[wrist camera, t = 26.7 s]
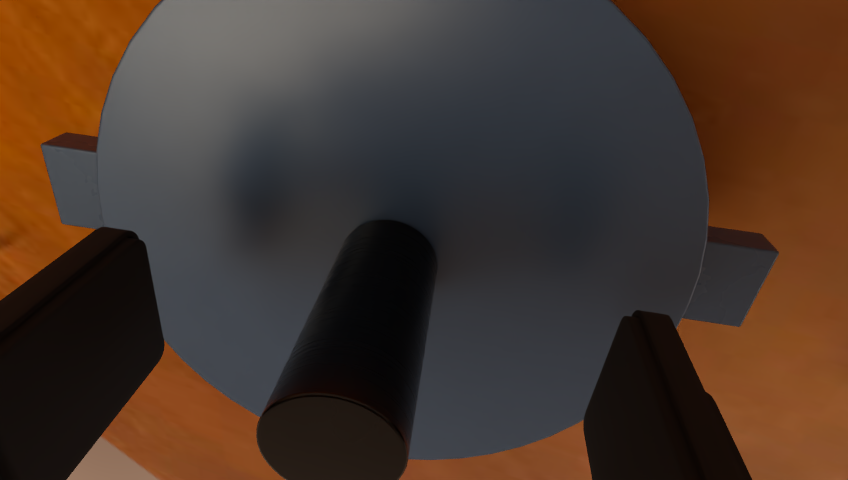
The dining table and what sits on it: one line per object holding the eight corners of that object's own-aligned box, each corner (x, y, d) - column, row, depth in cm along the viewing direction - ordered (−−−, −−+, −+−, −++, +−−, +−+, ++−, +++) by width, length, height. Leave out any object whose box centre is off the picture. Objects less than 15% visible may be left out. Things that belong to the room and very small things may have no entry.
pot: (133, -98, 16) (-62, -117, 10) (771, -16, 15) (938, 11, 10) (186, 274, 23) (87, 385, 17) (628, 342, 22) (675, 481, 16)
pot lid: (62, -130, 10) (-448, -213, 5) (810, -36, 10) (1247, 1, 4) (165, 393, 18) (12, 607, 12) (597, 464, 17) (650, 722, 12)
